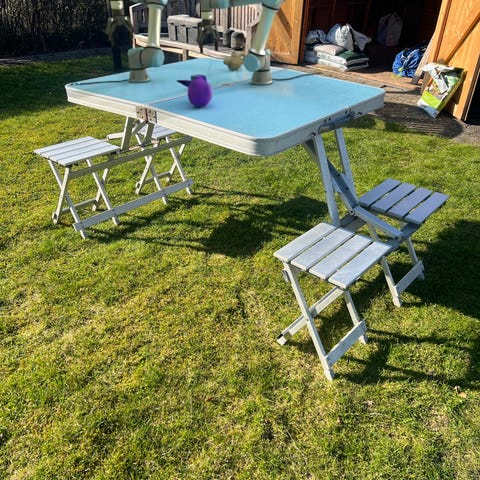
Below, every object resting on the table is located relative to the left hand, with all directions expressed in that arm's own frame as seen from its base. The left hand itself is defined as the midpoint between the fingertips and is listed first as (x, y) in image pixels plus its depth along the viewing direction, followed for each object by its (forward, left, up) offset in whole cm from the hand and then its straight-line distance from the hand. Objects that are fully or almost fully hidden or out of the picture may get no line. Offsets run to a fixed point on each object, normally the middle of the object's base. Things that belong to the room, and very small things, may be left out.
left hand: (122, 45), depth 292 cm
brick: (+48, -8, -30) cm, 57 cm away
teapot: (+91, +50, -30) cm, 108 cm away
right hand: (+60, +7, -8) cm, 60 cm away
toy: (+36, -52, -30) cm, 70 cm away
